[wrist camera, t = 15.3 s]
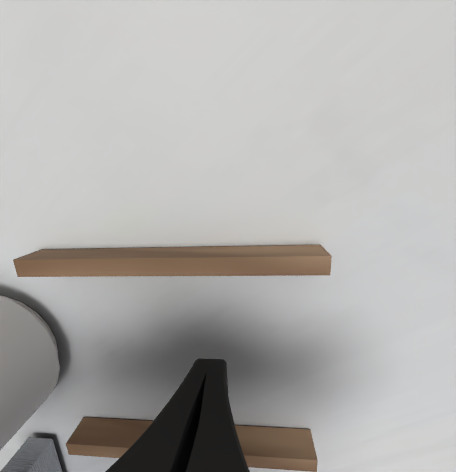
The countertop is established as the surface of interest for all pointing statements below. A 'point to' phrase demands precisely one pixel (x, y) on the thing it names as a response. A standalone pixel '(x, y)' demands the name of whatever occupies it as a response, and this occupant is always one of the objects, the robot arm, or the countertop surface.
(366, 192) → the countertop surface
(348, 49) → the countertop surface
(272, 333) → the countertop surface
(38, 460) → the bar
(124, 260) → the pair of wooden slats
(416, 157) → the countertop surface
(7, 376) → the can
